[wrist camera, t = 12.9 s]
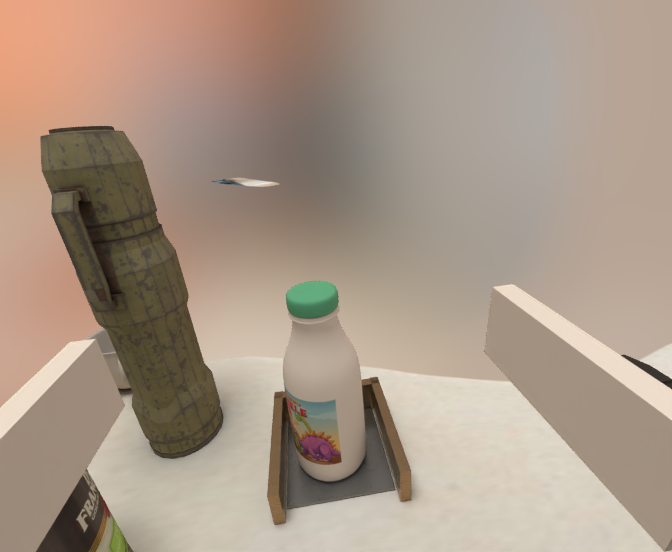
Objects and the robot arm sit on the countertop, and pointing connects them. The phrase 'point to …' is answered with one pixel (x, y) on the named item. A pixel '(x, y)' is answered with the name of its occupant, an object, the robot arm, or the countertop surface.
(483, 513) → the countertop surface
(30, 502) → the robot arm
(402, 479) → the dustpan
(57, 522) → the coffee can
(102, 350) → the teacup
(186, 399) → the thermos
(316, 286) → the milk bottle
